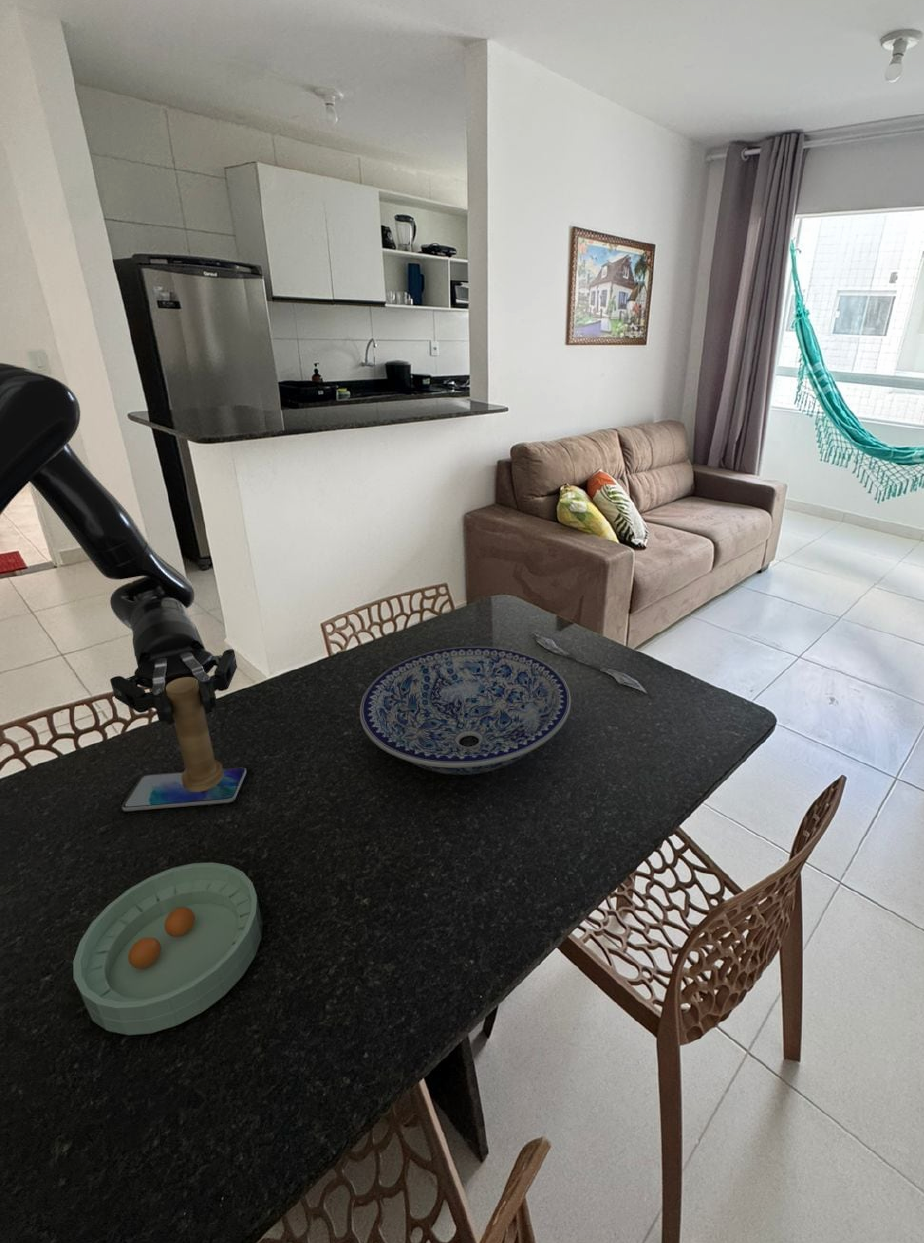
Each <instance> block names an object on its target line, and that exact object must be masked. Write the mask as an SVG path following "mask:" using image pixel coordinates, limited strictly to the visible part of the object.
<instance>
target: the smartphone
mask: <svg viewBox="0 0 924 1243" xmlns="http://www.w3.org/2000/svg"><path fill="white" fill-rule="evenodd" d="M222 769H223V773H224V775H223V778H222V780H221V781H220V782H219V783H218V784H217V785H216V786H214V787H212V788H210V789H208V790H205V791H201V792H190V791H187V790H186V789H185V788H184V787H183V783H182V779H181V776H182V773H183V772H184V771H181V772H180V771H179V772H168V773H167V772H166V773H153V774H145V775H142V776H141V777H140V778H139V779H138V780H137V782H136V784H135V786H134V787H133V789H132V790H131V791H130V793H129V794H128V796H127V798H126V799H125V801H124V802H123V804H122V805H121V810H122V811H124V812H135V811H147V810H156V809H157V810H158V809H170V808H182V807H194V806H206V805H219V804H229V803H232V802H234V801H235V800H236V798H237V796H238V793H239V791H240V789H241V787H242V784H243V782H244V779H245V777H246V775H247V768H245V767H234V768H222Z"/></svg>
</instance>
